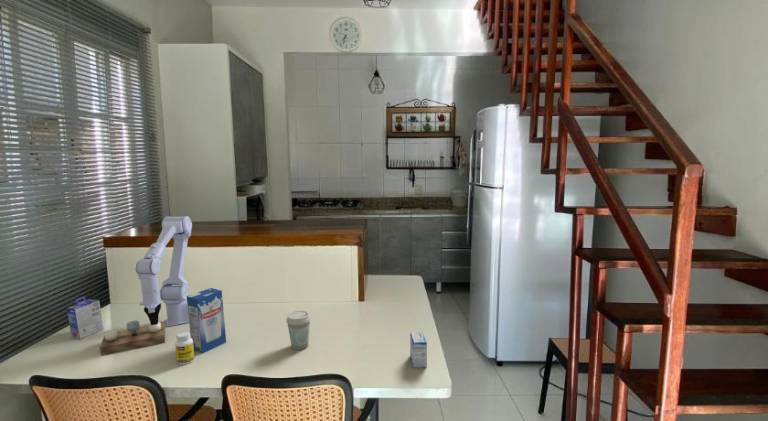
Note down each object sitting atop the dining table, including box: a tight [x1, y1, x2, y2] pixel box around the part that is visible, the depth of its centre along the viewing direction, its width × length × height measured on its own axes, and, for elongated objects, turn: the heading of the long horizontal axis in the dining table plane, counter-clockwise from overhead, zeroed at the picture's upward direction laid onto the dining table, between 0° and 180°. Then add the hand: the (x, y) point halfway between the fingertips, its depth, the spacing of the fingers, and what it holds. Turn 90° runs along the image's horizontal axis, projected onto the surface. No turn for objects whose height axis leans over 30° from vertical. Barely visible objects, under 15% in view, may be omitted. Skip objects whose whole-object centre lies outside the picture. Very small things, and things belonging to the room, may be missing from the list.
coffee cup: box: [286, 310, 312, 351], centre depth 150 cm, size 8×8×12 cm
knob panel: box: [99, 322, 166, 357], centre depth 157 cm, size 20×12×3 cm, turn 117°
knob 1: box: [104, 329, 119, 341], centre depth 153 cm, size 4×4×4 cm
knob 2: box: [148, 321, 162, 332], centre depth 160 cm, size 4×4×4 cm
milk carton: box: [186, 287, 227, 354], centre depth 151 cm, size 10×6×20 cm, turn 148°
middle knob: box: [126, 320, 141, 335], centre depth 156 cm, size 4×4×4 cm
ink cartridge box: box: [65, 296, 104, 340], centre depth 165 cm, size 10×6×14 cm, turn 161°
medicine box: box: [409, 331, 428, 368], centre depth 138 cm, size 8×4×9 cm, turn 5°
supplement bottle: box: [174, 331, 195, 366], centre depth 142 cm, size 5×5×10 cm
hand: (154, 324), depth 159 cm, fingers closed, pressing on knob 2
